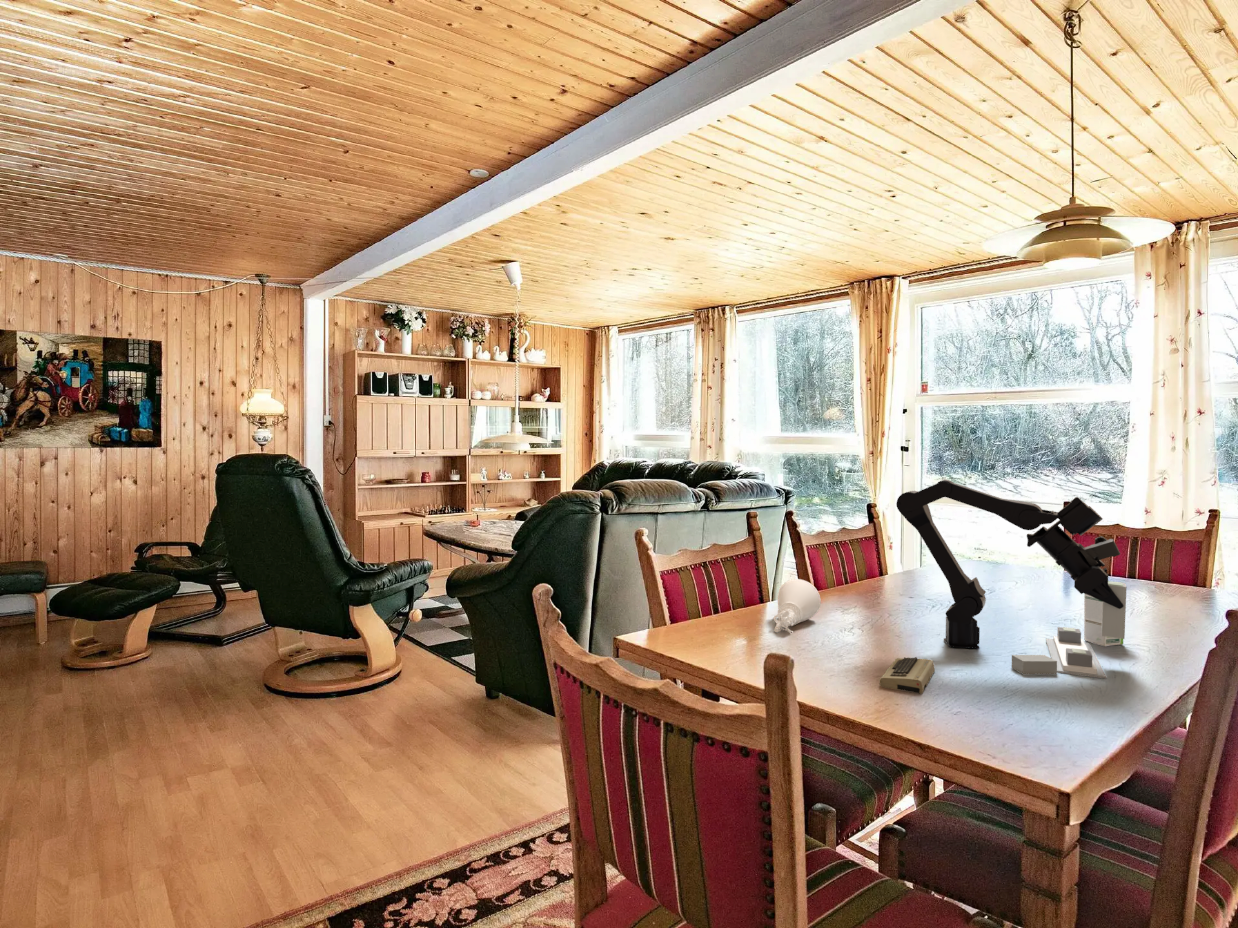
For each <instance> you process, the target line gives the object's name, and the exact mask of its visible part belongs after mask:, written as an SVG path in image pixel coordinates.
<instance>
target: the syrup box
mask: <svg viewBox="0 0 1238 928" xmlns="http://www.w3.org/2000/svg"><path fill="white" fill-rule="evenodd" d="M1083 595H1084V596H1083V597H1084V598H1083V599H1084V611H1083V612H1084V613H1083V614H1084V616H1083V617H1084V621H1083V622H1084V624H1083V625H1084V627H1083V630H1084V633H1083V634H1084V635H1083V637H1084V639H1083V641H1084V642H1085V641H1086V642H1087V643H1090V644H1091V643H1092V644H1094V645H1097V646H1101V647H1107V646H1108V647H1109V646H1123V645H1124V639H1121V638H1114V637H1106V636H1102V632H1101V627H1102V601H1101V600H1099V599H1096V598H1094V597H1092V596H1089V595H1087V594H1084V593H1083Z"/></svg>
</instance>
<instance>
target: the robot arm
mask: <svg viewBox="0 0 1238 928" xmlns="http://www.w3.org/2000/svg"><path fill="white" fill-rule="evenodd" d="M943 498H947V499H950V500H953V501H956V502H960V503H962V504H965V505H968V506H971V507H973V508H976V509H979V510H982V511H985V512H988V513H991V514H995V515H996V516H998V517H1000V518H1002V519H1004V520H1005V521H1007V522H1009V523H1010V524H1012V525H1014V526H1016V527H1018V528H1020V529H1022V530H1024V531H1033V530H1036V529H1038V530H1036V531H1035V532H1034V533H1027V534H1026V538H1027V544H1026V545H1027V547H1028V548H1030V547H1032V546H1034V544H1035V543H1037V545H1039V546H1040V547H1041V548H1042V549H1043V550H1044V551H1045V552H1046V553H1047V554H1048V555H1049V556H1050V557H1052V559H1053V560H1055V563H1056V564H1057V565H1058V567H1062V569H1064V571H1065V572H1066V573H1068V574H1069V575H1070V578H1071V579H1072V580H1073V581H1074V586H1073V588H1074V589H1076V590H1077V592H1078V593H1079V594H1080V595H1084V594H1087V595H1089V596H1092V597H1094V598H1096V599H1099V600H1101V601H1103V602H1105V603H1107V604H1110V605H1112V606H1114V607H1116V608H1118V609H1121V608H1122V607H1124V605H1123V604H1122V602H1121V601H1120V600H1119V598H1118V597H1117V596H1116V594H1115V593H1114V592H1113V590H1112V589H1111V588H1110V586H1109V585H1108V581H1109V574H1108V569H1107V567H1105V566H1106V563H1105V562H1103V561H1102V560H1104V559H1108V558H1111V557H1118V556H1120V555H1121V552H1120V550H1119V548H1118V546H1117V544H1116V542H1115V540H1114V538H1109V539H1107V538H1105V537H1104V536H1099V537H1095V538H1094V544H1091V545H1088V546H1084V545H1082V544H1081V543H1077V542H1076V541H1075V540H1074V539H1072V537H1071V536H1074V535H1077V534H1078V535H1080V536H1083V535H1084V534H1085V533H1087V532H1088V531H1089V530H1091V529H1092V528H1093V527H1095V526H1096V525H1097V524H1099V523H1100V522H1101V521H1102V520H1103V517H1102V516H1101V515H1100V514H1099V513H1098V512H1097V511H1096V510H1095V509H1094V508H1092V507H1091V506H1090V505H1088V504H1086V503H1085V502H1084V501H1083V500H1082V499H1081V498H1080V497H1078V496H1075V497H1074V498H1072V500H1071V501H1070V502H1069V503H1067V504H1066V505H1065V506H1064V507H1062V508H1061V509H1060V510H1058V511H1054V510H1047V509H1042V507H1041V506H1039V505H1038V504H1036V503H1032V502H1028V501H1021V500H1014V499H1007V498H1002V497H999V496H996V495H992V494H989V493H986V492H983V491H980V490H977V489H974V488H972V487H967V486H966V485H961V484H958V483H955V482H953V481H952V480H950V479H942V480H940V481H938V482H937V483H935V484H933V485H931V486H928V487H926V488H923V489H922V490H919V491H917V490H909V491H906V492H903V493H902V494H900V495H899V496H898V498H897V500H896V503H895V504H896V507H897V510H898V512H899V513H900V514H901V515H902V516H903V517H904V519H905V520H906V521H907V522H908V524H911V526H913V528H915V529H916V531H917V532H918V534H919V535H920V537H921V539H922V540H923V542H924V544H925V545H926V547H927V549H928V551H929V552H930V554H931V555H932V557H933V559H934V560H935V562H936V564H937V565H938V567H939V569H940V570H941V573H943V575H944V577H945V579H946V580H947V583H948V586H949V589H950V594H951V596H952V598H953V602H954V603H952V604H951V605H950V606H949V607H948V609H947V610H946V611H945V637H944V638H943V641H944V643H945V644H946V645H947V646H948V647H949V648H959V649H960V648H961V649H977V650H978V649H980V646H979V645H980V632H981V631H980V626H979V625H978V620H977V619H975V616H978V615H979V614H981V612H982V611H983V610H984V607H985V606H986V603H987V599H986V596H985V595H986V593H987V591H986V590H985V589H984V588H983V587H982V586H981V584H980V582H979V579H978V577H974V578H973V579H971V578H970V577H969V576H968V575H967V574H966V573H965V572H964V571H963V569H962V566H960V564H959V562H958V561H957V559H956V557H955V555H954V554H953V551H952V550H951V549H950V547H949V546H948V544H947V542H946V540H945V539H944V538H943V536H942V534H941V532H940V531H939V530H938V528H937V526H936V524H935V523H934V521H933V516H932V514H931V510H930V508H929V507H930V506H929V505H930V504H931V503H934V502H936V501H938V500H940V499H943ZM1057 519H1058V521H1057ZM1055 521H1056V522H1055ZM1054 522H1055V523H1054ZM1053 523H1054V524H1053ZM1049 524H1050V525H1051V524H1052V525H1051V526H1050V527H1048V528H1047V527H1045V526H1042V527H1040V526H1041V525H1049ZM1059 525H1061V526H1062V527H1063V528H1064V529H1065V530H1066V531H1067V532H1068V533H1069V534H1070V535H1071V536H1070V535H1069V534H1068V533H1066V531H1065V530H1063V529H1062V527H1060V526H1059ZM1039 527H1040V528H1039ZM1101 567H1102V568H1101Z"/></svg>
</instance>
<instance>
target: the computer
mask: <svg viewBox="0 0 1238 928" xmlns="http://www.w3.org/2000/svg"><path fill="white" fill-rule="evenodd" d="M935 670H936V667H935V663H934V660H933V659H927V658H918V657H917V656H916V657H901V658H899V657H897V658H896V659H894V661H893V662H892V663H891V665H890V666H889V667H888V668H887V670H886V671H885V672H884V674H883V675H882V676H881V677H880V678H879V683H878V684H879V686H880V687H881V688H885V689H890V688H891V689H892V690H896V691H897V690H898V691H905V692H910V693H917V694H919V695H920V694H921V695H922V694H923V693H924V692H925V690H924V689H925V688H926V687H927V686H928V684H929V683H930V681H931V678H932V677H933V675H934V673H935V672H936V671H935ZM891 689H890V690H891Z"/></svg>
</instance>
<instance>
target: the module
mask: <svg viewBox="0 0 1238 928" xmlns="http://www.w3.org/2000/svg"><path fill="white" fill-rule="evenodd" d="M1108 585H1109V586H1110V588H1111V589H1112V590H1113V592H1114V593H1115V594H1116V596H1117V597H1118V598H1119V600H1120V601H1121V602H1122V604H1123V605H1124V607H1122V608H1121V609H1118V608H1116V607H1114V606H1112V605H1110V604H1107V603H1105V602H1103V601H1102V627H1101V632H1102V636H1106V637H1114V638H1121V639H1123V640H1125V636H1126V610H1127V609H1126V608H1127V607H1126V606H1127V584H1126V582H1125V583H1124V582H1121V581H1111V580H1110V581H1109V580H1108Z"/></svg>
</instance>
